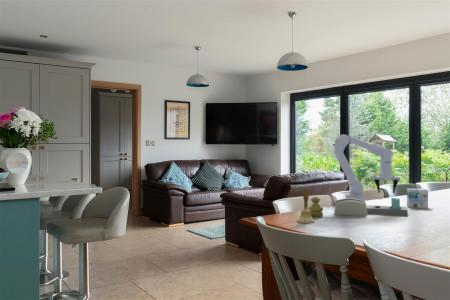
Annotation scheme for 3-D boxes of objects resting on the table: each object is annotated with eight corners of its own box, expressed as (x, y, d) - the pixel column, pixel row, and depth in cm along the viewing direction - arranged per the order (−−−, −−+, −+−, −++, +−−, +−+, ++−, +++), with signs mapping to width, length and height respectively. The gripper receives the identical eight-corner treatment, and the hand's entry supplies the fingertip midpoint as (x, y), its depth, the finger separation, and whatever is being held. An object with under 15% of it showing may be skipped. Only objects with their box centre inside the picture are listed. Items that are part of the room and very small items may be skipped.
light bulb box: (408, 207, 223) (408, 189, 223) (406, 206, 230) (406, 188, 230) (428, 208, 220) (428, 189, 220) (426, 206, 227) (426, 188, 227)
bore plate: (366, 213, 203) (366, 208, 203) (367, 210, 214) (367, 205, 214) (407, 215, 196) (407, 210, 196) (406, 212, 207) (406, 206, 207)
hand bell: (302, 219, 189) (301, 187, 189) (317, 221, 184) (317, 188, 184) (294, 222, 183) (293, 188, 183) (309, 224, 177) (309, 189, 177)
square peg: (391, 214, 202) (391, 199, 202) (391, 212, 206) (391, 198, 206) (399, 214, 201) (399, 199, 201) (399, 213, 204) (399, 198, 204)
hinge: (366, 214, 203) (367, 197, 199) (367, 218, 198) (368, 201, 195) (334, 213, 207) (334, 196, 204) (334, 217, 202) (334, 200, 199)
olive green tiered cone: (323, 217, 193) (323, 198, 193) (308, 217, 194) (308, 197, 194) (322, 215, 200) (322, 196, 200) (308, 215, 202) (308, 196, 202)
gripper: (372, 169, 216) (372, 193, 216) (400, 169, 210) (400, 194, 210) (372, 168, 223) (372, 192, 223) (399, 169, 217) (400, 192, 217)
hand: (386, 193), depth 217 cm, fingers open, 7 cm apart
